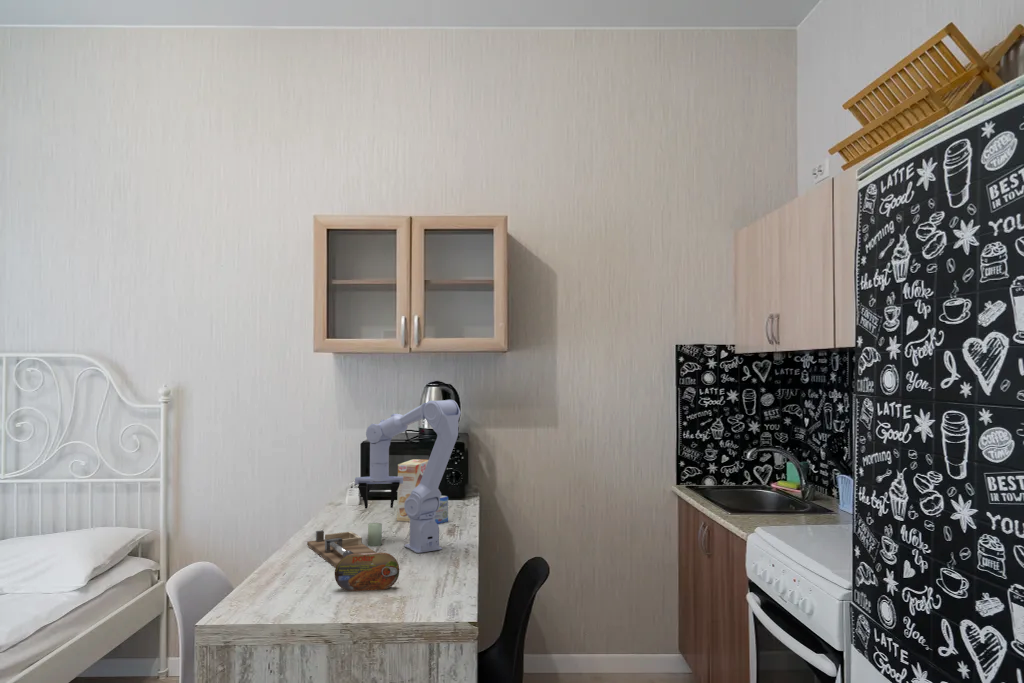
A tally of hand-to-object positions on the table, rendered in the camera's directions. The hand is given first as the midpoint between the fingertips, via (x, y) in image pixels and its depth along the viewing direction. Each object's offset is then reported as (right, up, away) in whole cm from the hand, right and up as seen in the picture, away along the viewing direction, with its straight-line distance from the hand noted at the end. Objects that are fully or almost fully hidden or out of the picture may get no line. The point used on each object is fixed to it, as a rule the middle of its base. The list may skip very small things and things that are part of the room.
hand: (379, 507), depth 213 cm
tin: (+6, -8, -48) cm, 49 cm away
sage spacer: (0, -10, -6) cm, 11 cm away
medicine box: (+15, -11, +24) cm, 30 cm away
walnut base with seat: (-7, -9, -17) cm, 20 cm away
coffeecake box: (+6, -11, +32) cm, 35 cm away
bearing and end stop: (-13, -8, -13) cm, 20 cm away
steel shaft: (-6, -7, -23) cm, 25 cm away
